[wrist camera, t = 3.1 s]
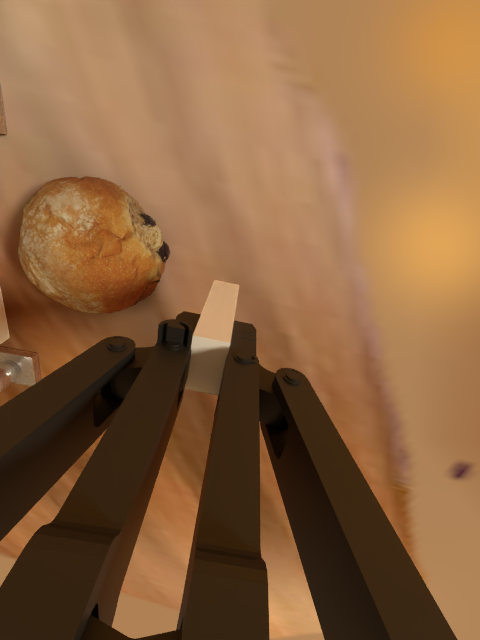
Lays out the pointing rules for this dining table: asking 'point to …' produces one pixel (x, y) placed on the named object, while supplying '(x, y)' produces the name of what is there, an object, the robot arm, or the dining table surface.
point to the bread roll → (90, 245)
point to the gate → (3, 322)
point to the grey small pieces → (11, 363)
